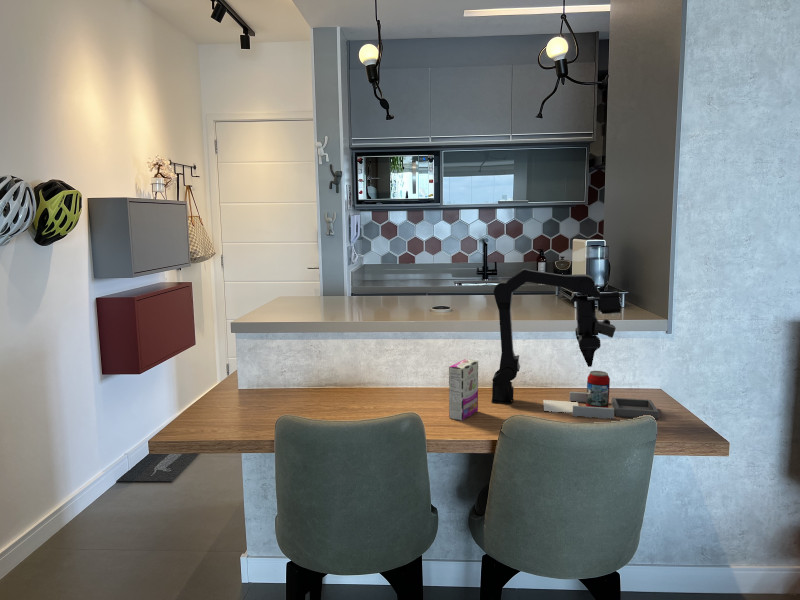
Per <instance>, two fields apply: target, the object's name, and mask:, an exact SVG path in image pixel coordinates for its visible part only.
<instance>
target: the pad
mask: <svg viewBox="0 0 800 600" xmlns="http://www.w3.org/2000/svg"><path fill="white" fill-rule="evenodd" d="M542 402H543V412H544V411H549V412H548V413H558V412H564V413H563V414H573V406H580V405H579V402H571V401H567V400H565V401H564V400H552V399H551V400H550V399H549V400H547V399H543V401H542ZM551 411H552V412H551ZM565 412H566V413H565Z"/></svg>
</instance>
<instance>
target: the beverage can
mask: <svg viewBox="0 0 800 600" xmlns="http://www.w3.org/2000/svg"><path fill="white" fill-rule="evenodd" d="M610 381H611V379H610V376H609V374H608V372H606V371H603V370H591V371H589V374H588V376H587V380H586V393H587V398H586V402H585V404H586V405H585V406H587V407H603V408H609V403H610V401H609V400H610V389H611V387H610V385H611V383H610Z"/></svg>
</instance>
